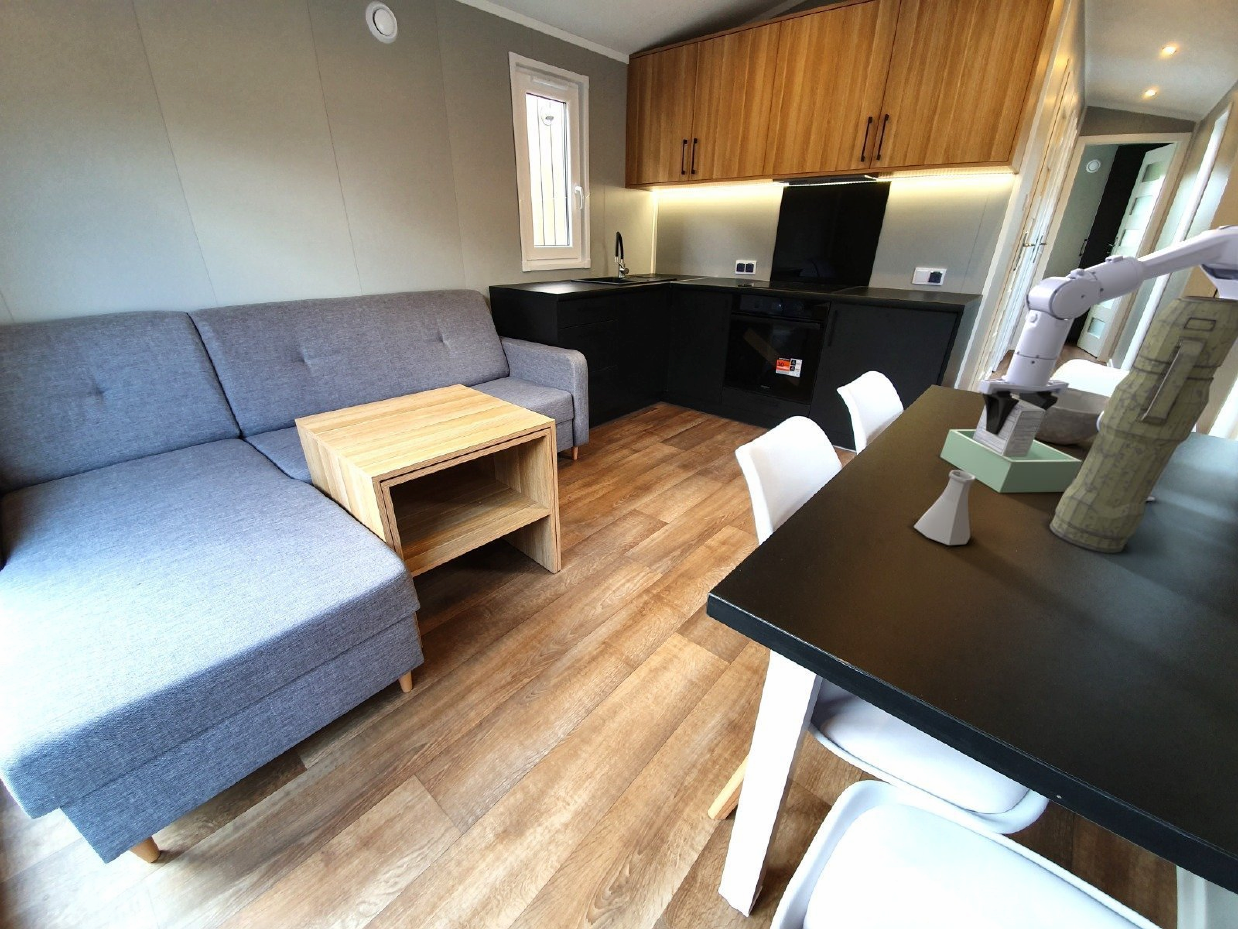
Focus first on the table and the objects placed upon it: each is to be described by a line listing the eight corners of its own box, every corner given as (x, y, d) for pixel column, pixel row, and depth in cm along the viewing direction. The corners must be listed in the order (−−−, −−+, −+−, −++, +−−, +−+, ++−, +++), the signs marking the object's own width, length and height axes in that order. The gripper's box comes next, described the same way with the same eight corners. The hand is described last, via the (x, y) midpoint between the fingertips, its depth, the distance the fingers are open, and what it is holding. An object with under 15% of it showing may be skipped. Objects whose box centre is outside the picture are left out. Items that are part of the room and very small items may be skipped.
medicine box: (1026, 457, 84) (1048, 410, 80) (1001, 457, 84) (1021, 409, 80) (994, 440, 91) (1012, 395, 87) (971, 439, 91) (988, 394, 87)
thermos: (1051, 543, 73) (1172, 298, 58) (1046, 511, 82) (1150, 291, 67) (1131, 566, 68) (1285, 306, 53) (1117, 529, 77) (1246, 297, 62)
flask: (950, 551, 70) (974, 490, 66) (904, 526, 76) (923, 468, 72) (979, 539, 73) (1004, 480, 69) (932, 516, 79) (952, 460, 75)
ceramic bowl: (987, 414, 128) (1001, 377, 124) (1103, 435, 116) (1123, 395, 112) (984, 439, 112) (1000, 397, 107) (1119, 466, 100) (1143, 420, 96)
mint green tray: (1000, 456, 103) (1010, 429, 100) (1068, 491, 89) (1082, 461, 86) (940, 456, 102) (949, 429, 99) (999, 492, 88) (1012, 462, 85)
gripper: (1053, 350, 85) (1023, 424, 90) (976, 349, 83) (951, 424, 89) (1093, 360, 78) (1058, 438, 84) (1010, 359, 77) (980, 439, 83)
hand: (1005, 432), depth 86 cm, fingers closed on medicine box, 4 cm apart
